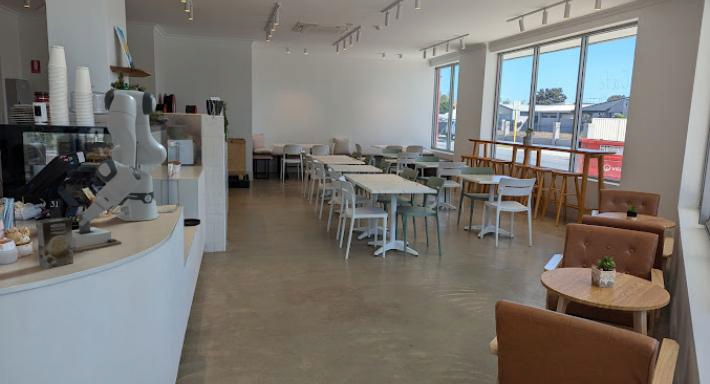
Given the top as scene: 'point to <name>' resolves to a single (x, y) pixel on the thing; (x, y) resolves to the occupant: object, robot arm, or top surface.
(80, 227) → the plug
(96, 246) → the socket board
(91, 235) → the socket housing
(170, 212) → the top surface
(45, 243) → the coffee box
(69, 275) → the top surface
